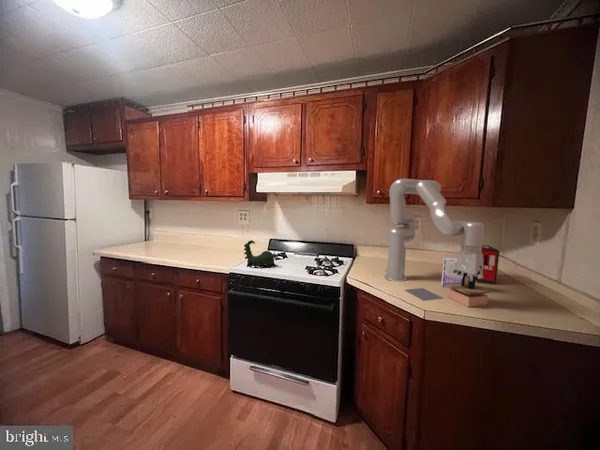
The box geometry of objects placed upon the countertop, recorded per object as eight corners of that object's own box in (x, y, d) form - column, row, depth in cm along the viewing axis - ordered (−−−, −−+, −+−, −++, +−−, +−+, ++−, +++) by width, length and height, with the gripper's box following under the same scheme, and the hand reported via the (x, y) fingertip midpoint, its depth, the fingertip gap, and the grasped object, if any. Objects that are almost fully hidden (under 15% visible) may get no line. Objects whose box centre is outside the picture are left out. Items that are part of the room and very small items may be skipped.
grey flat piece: (403, 290, 127) (403, 289, 127) (422, 289, 130) (422, 288, 130) (423, 301, 114) (423, 300, 114) (444, 299, 117) (444, 298, 117)
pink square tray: (447, 298, 118) (448, 288, 118) (465, 296, 121) (466, 287, 120) (468, 308, 107) (469, 297, 107) (487, 306, 110) (488, 295, 110)
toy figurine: (243, 267, 171) (274, 268, 162) (240, 241, 170) (272, 241, 161) (250, 264, 180) (280, 265, 171) (248, 239, 179) (278, 238, 170)
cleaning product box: (495, 284, 139) (499, 250, 137) (477, 282, 142) (480, 249, 140) (485, 276, 154) (488, 245, 152) (469, 274, 158) (471, 244, 155)
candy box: (469, 288, 132) (472, 259, 130) (472, 292, 127) (475, 261, 125) (440, 284, 138) (443, 256, 136) (442, 288, 132) (444, 258, 131)
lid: (446, 285, 118) (447, 273, 117) (466, 283, 121) (467, 272, 120) (469, 295, 106) (470, 282, 106) (490, 293, 109) (491, 280, 109)
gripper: (449, 245, 118) (446, 281, 120) (482, 253, 103) (478, 294, 105) (462, 245, 120) (458, 280, 122) (495, 252, 104) (491, 293, 107)
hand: (467, 286), depth 113 cm, fingers closed on lid, 2 cm apart
